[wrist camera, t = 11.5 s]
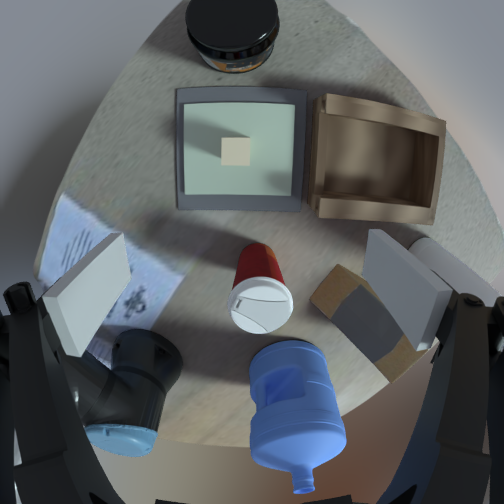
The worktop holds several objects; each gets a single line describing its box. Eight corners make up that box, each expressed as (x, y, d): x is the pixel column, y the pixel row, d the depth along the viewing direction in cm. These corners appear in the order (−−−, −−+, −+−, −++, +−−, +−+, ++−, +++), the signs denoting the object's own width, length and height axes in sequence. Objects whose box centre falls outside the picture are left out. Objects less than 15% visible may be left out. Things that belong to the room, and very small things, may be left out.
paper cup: (225, 270, 45) (217, 325, 32) (244, 228, 42) (241, 272, 30) (270, 287, 47) (277, 344, 34) (290, 247, 44) (307, 296, 31)
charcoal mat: (179, 209, 41) (178, 209, 41) (177, 89, 34) (177, 89, 33) (299, 211, 41) (300, 212, 41) (306, 90, 34) (306, 90, 34)
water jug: (339, 350, 53) (378, 471, 27) (298, 394, 59) (315, 502, 33) (272, 327, 50) (286, 471, 24) (236, 377, 56) (232, 499, 30)
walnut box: (307, 203, 41) (318, 217, 34) (313, 100, 35) (326, 93, 28) (409, 210, 41) (433, 225, 34) (419, 120, 35) (446, 121, 28)
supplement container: (196, 76, 33) (176, 55, 22) (201, 15, 29) (185, -22, 18) (272, 77, 33) (282, 54, 22) (274, 15, 29) (283, -23, 18)
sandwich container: (337, 261, 45) (369, 314, 31) (394, 298, 48) (430, 349, 35) (306, 299, 48) (325, 360, 34) (365, 330, 51) (392, 385, 38)
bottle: (399, 248, 44) (511, 366, 17) (433, 229, 43) (552, 325, 15) (408, 282, 47) (498, 400, 19) (439, 264, 45) (538, 364, 18)
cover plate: (186, 193, 40) (172, 207, 33) (185, 104, 34) (170, 98, 27) (289, 194, 40) (299, 208, 33) (293, 105, 35) (304, 98, 28)
